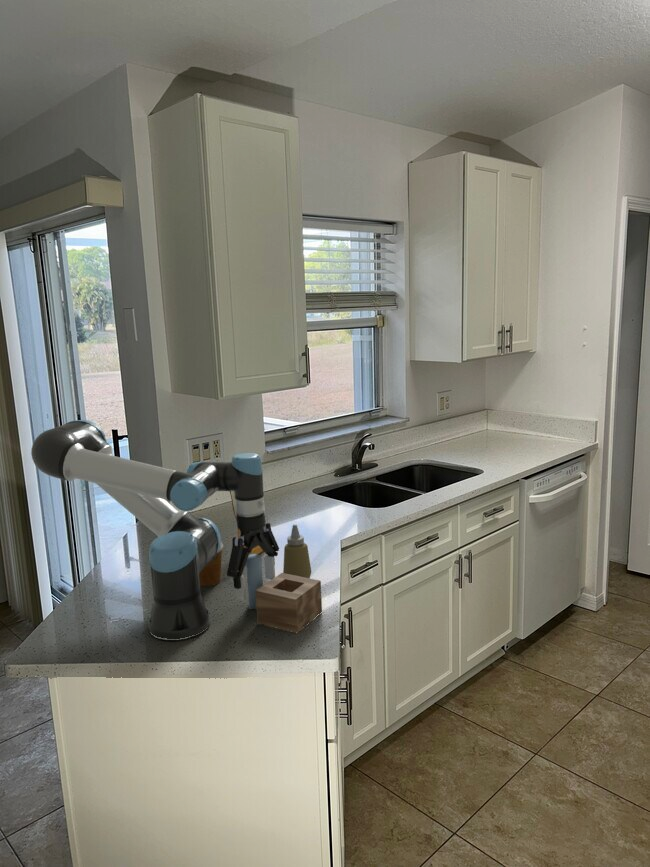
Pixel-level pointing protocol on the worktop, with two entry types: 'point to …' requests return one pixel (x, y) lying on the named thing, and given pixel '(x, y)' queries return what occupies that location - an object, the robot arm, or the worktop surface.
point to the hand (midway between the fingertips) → (256, 588)
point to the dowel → (254, 577)
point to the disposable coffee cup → (212, 570)
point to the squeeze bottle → (296, 555)
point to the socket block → (288, 602)
